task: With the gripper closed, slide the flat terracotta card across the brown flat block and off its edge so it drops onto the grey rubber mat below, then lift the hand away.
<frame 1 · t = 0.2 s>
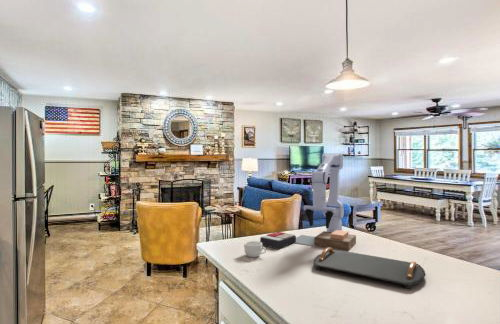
hand: (319, 226, 149), 10 cm above the worktop, fingers open, 7 cm apart
brown flat block: (335, 244, 155), on the worktop
teacup: (255, 256, 138), on the worktop
calculator: (278, 243, 157), on the worktop, touching mat
mat: (306, 240, 163), on the worktop
serving board: (366, 272, 121), on the worktop
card: (339, 236, 154), point 4 cm above the worktop, touching brown flat block
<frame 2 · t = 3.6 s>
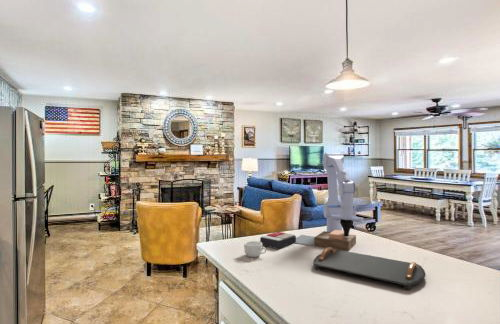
hand: (346, 235, 152), 5 cm above the worktop, fingers closed
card: (338, 236, 154), point 4 cm above the worktop, touching gripper
everything else where it was.
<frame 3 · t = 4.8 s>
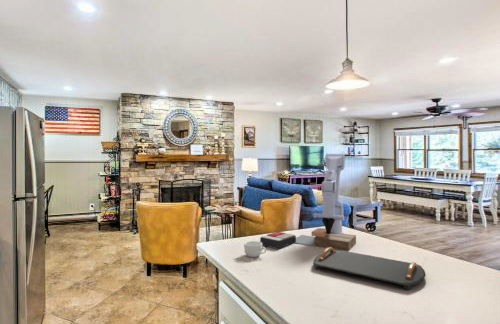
hand: (328, 233, 157), 5 cm above the worktop, fingers closed
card: (320, 234, 159), point 4 cm above the worktop, touching brown flat block, gripper
everything else where it was.
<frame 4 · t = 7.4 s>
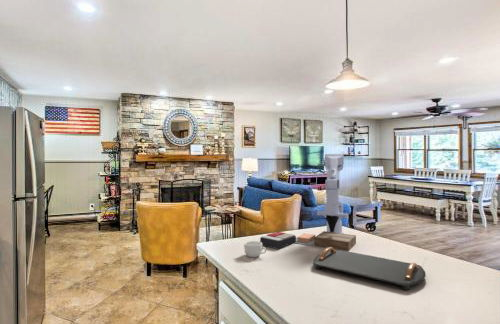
hand: (332, 231, 156), 6 cm above the worktop, fingers closed
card: (306, 235, 162), point 2 cm above the worktop, tilted 180°, touching mat
everything else where it was.
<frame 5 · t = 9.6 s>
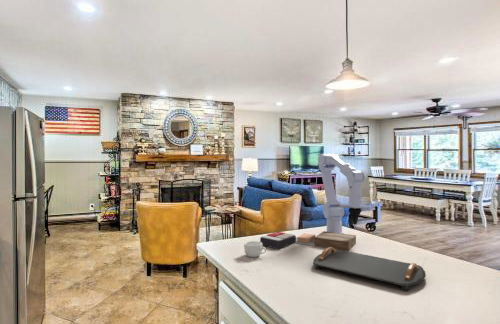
hand: (355, 224, 155), 10 cm above the worktop, fingers closed
nothing on the worktop moved.
at the end: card point 2.3 cm above the worktop; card inside the target area (0.3 cm from its centre), point 2.3 cm above the worktop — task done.
